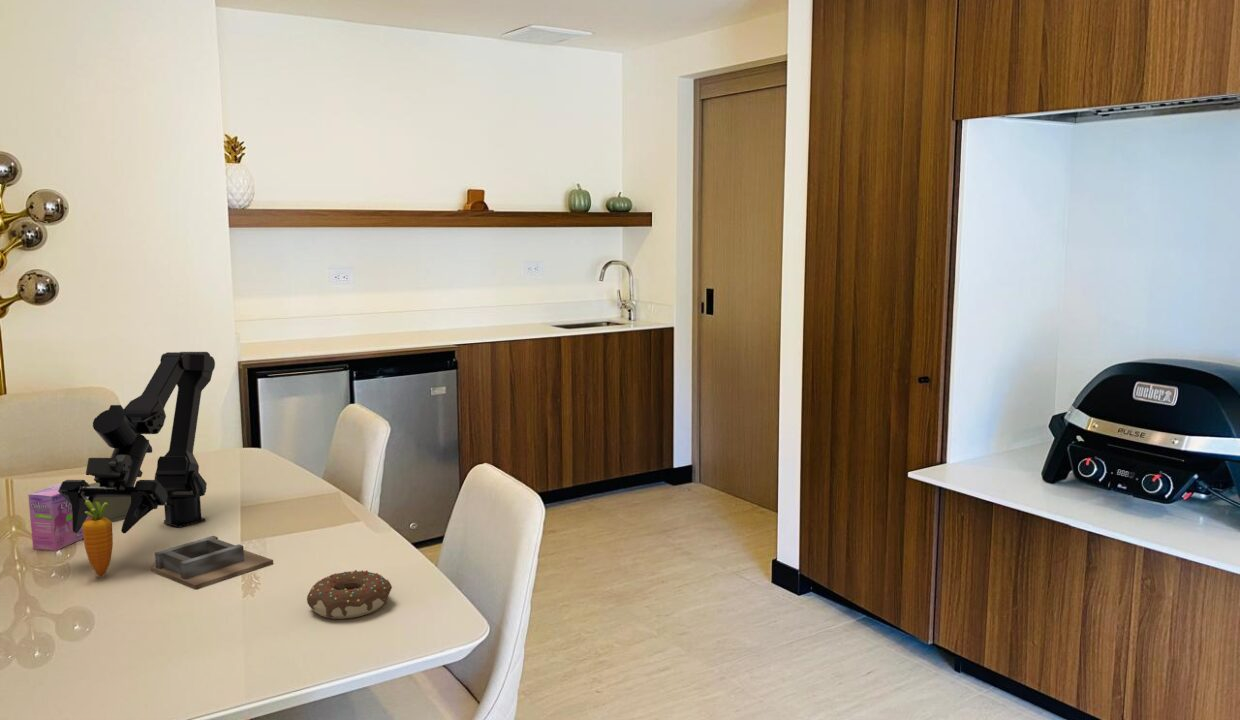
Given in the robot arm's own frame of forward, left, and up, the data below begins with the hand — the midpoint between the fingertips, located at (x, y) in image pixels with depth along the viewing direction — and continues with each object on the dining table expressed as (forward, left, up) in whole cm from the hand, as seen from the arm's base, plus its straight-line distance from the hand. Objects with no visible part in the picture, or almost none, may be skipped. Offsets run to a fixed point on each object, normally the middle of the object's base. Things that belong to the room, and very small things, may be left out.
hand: (98, 532), depth 176 cm
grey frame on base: (-15, +13, -9) cm, 21 cm away
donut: (-19, +50, -9) cm, 54 cm away
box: (-5, -27, -9) cm, 29 cm away
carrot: (0, 0, -9) cm, 9 cm away
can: (-19, -38, -9) cm, 43 cm away
